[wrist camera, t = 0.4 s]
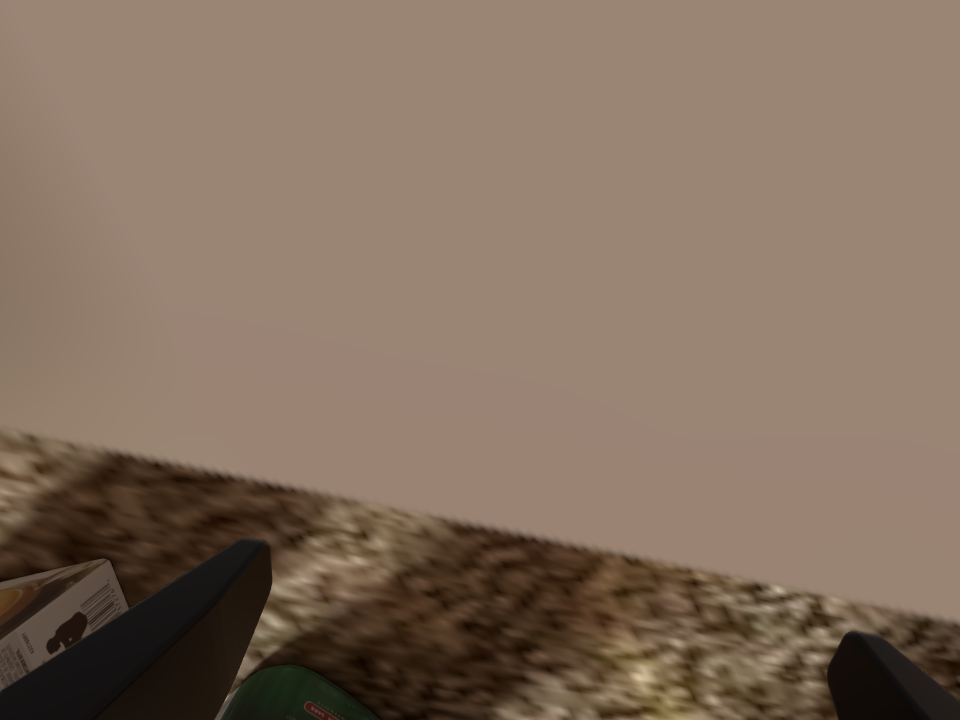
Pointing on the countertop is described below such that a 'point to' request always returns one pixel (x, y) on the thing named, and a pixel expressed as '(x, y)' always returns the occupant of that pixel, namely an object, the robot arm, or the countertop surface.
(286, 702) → the coffee jar
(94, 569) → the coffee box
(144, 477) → the countertop surface
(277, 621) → the countertop surface
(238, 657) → the robot arm
